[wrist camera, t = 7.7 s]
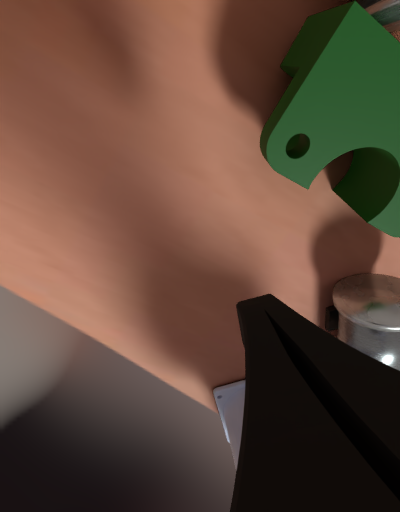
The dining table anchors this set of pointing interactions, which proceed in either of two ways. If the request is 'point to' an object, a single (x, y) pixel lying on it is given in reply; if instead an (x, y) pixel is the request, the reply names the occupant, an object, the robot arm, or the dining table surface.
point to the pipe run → (370, 285)
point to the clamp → (342, 112)
